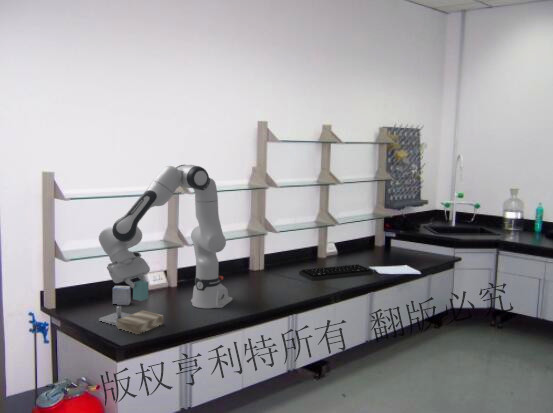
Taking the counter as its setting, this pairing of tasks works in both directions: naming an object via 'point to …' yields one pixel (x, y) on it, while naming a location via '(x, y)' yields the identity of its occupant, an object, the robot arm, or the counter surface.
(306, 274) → the computer keyboard
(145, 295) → the teal square-faced block
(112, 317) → the post stand
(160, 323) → the riser block
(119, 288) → the medicine box
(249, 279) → the counter surface
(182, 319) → the counter surface
